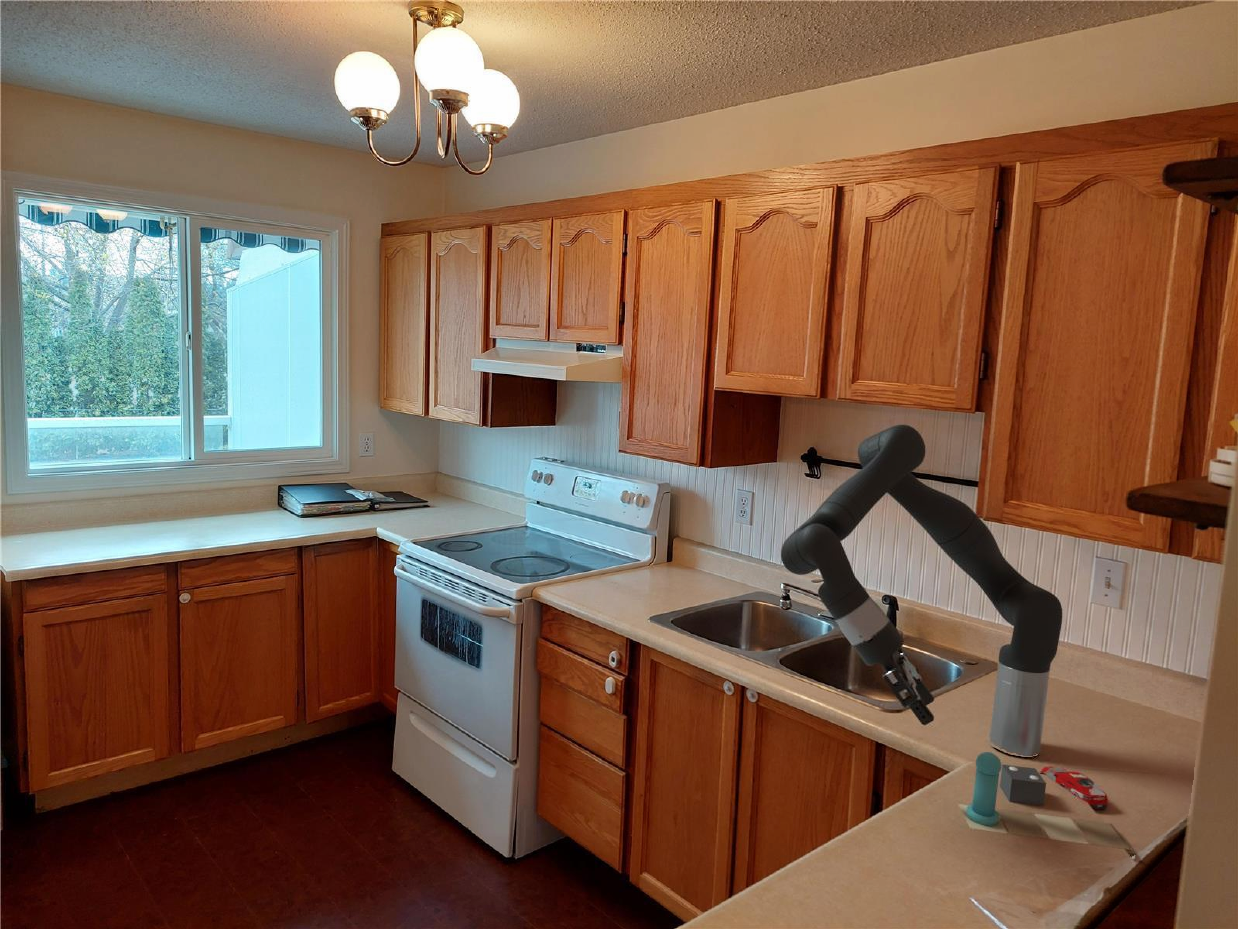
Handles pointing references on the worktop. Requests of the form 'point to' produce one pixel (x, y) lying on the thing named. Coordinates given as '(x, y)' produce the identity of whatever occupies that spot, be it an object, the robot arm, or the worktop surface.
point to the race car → (1078, 786)
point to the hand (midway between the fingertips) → (929, 712)
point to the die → (1022, 785)
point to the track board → (1055, 829)
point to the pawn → (985, 790)
